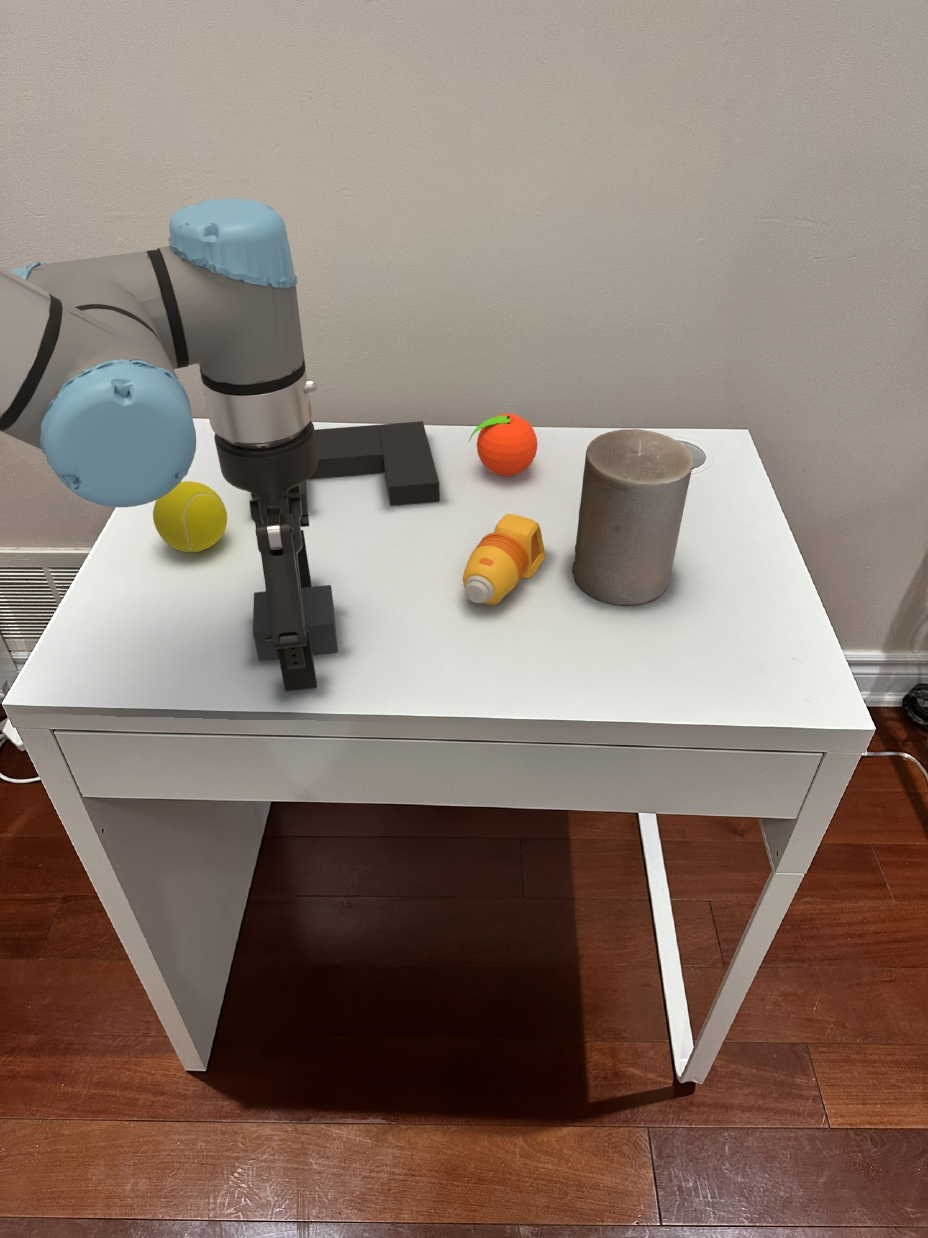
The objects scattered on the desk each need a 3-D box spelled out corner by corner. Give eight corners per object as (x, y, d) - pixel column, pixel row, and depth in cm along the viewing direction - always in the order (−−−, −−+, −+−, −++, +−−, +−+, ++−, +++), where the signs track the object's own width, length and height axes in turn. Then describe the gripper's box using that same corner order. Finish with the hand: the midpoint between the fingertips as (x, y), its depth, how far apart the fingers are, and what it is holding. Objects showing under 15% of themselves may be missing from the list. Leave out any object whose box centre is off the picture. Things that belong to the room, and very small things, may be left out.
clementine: (475, 492, 99) (476, 435, 94) (461, 461, 104) (461, 406, 99) (543, 483, 100) (547, 427, 96) (525, 452, 105) (528, 398, 101)
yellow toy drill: (501, 625, 82) (549, 554, 90) (502, 579, 78) (552, 510, 86) (449, 609, 84) (501, 541, 92) (448, 563, 80) (502, 496, 88)
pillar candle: (552, 568, 88) (563, 435, 78) (623, 535, 93) (642, 405, 83) (618, 620, 82) (640, 482, 72) (691, 582, 87) (721, 448, 77)
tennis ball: (245, 540, 92) (234, 483, 87) (193, 573, 87) (178, 515, 83) (201, 518, 95) (187, 461, 90) (148, 548, 91) (131, 491, 86)
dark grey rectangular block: (258, 661, 78) (252, 631, 76) (259, 621, 82) (253, 592, 80) (337, 652, 79) (334, 623, 77) (334, 613, 83) (331, 584, 81)
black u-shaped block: (256, 518, 95) (252, 498, 93) (258, 452, 105) (255, 433, 104) (439, 501, 97) (439, 482, 96) (423, 439, 108) (422, 420, 106)
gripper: (319, 512, 58) (349, 729, 72) (308, 352, 76) (333, 549, 90) (203, 523, 57) (255, 741, 71) (220, 358, 75) (259, 557, 89)
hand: (299, 634), depth 80 cm, fingers open, 13 cm apart
